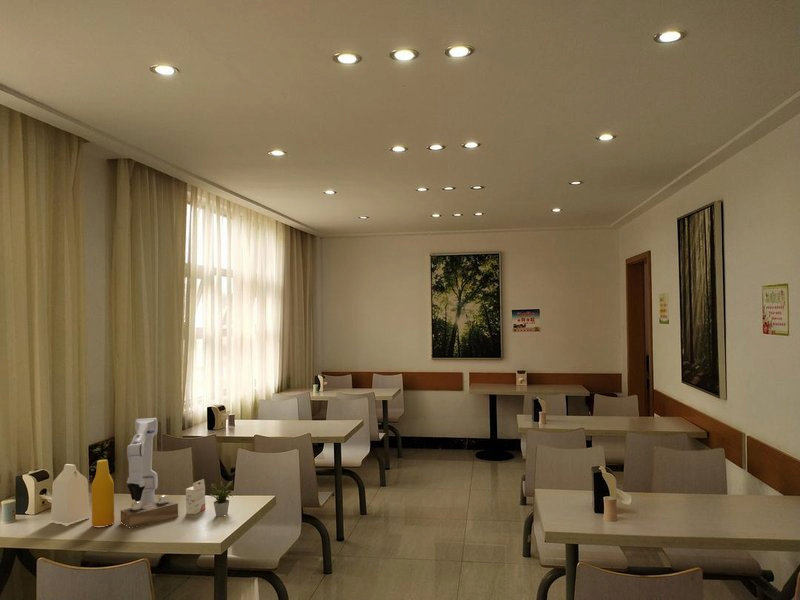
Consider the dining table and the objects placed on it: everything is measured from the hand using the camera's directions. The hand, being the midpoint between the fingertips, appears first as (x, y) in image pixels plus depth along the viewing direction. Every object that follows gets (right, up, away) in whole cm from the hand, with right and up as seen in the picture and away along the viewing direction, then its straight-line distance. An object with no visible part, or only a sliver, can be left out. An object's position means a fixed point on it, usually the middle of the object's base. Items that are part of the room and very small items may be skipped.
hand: (136, 500), depth 274 cm
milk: (-34, -12, +7) cm, 36 cm away
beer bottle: (-14, -11, -1) cm, 18 cm away
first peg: (0, -7, 0) cm, 7 cm away
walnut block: (+5, -10, +4) cm, 12 cm away
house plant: (+36, -10, +7) cm, 38 cm away
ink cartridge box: (+22, -11, +14) cm, 29 cm away
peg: (+9, -7, +8) cm, 14 cm away
